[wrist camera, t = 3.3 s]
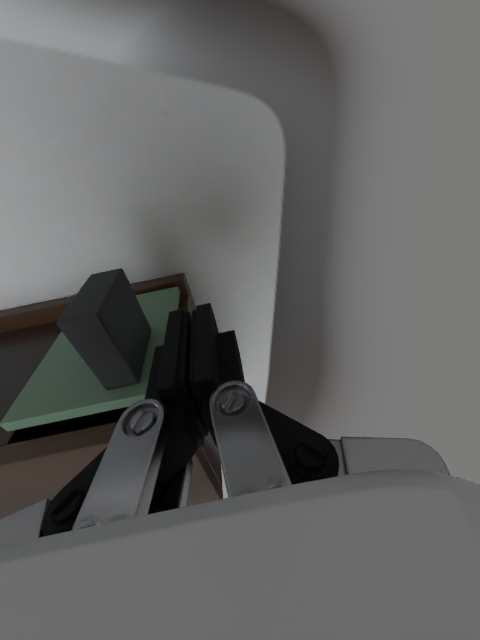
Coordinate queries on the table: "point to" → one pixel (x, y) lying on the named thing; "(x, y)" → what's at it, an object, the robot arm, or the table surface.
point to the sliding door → (96, 353)
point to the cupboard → (76, 433)
